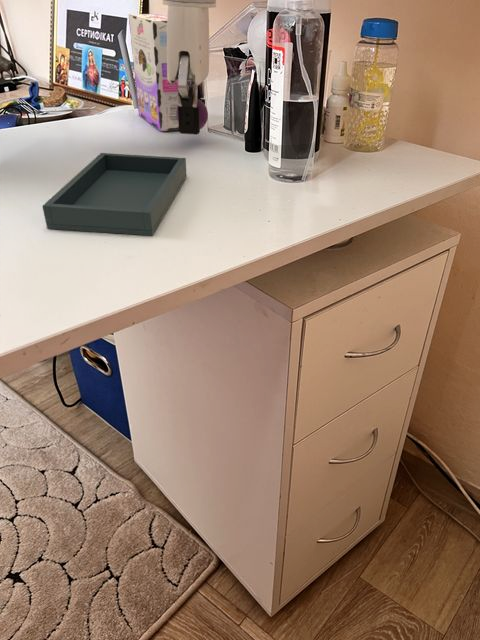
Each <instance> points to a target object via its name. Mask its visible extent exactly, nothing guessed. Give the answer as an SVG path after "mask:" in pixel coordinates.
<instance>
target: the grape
mask: <svg viewBox="0 0 480 640" xmlns="http://www.w3.org/2000/svg"><path fill="white" fill-rule="evenodd" d="M197 106H198V107H199V123H200V130H202V129H203V128H204V127H205V126H206V124H207V122H208V119H209V111H208V108H207V106H206V103H205V104H204V103H203V102H202V101H201V100H200V99H198V98H197ZM176 116H177V120H178V107H177V111H176Z"/></svg>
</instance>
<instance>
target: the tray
mask: <svg viewBox="0 0 480 640" xmlns="http://www.w3.org/2000/svg"><path fill="white" fill-rule="evenodd" d="M187 177H188V176H187V159H186V157H175V156H157V155H143V154H142V155H141V154H128V153H127V154H125V153H124V154H123V153H109V152H108V153H107V152H100V153H99V154H98V155H97V156H96V157H95V158H93V159H92V160H91V162H89V163H88V164H87V165H86V166H85V167H84V168H82V169H81V170H80V171H79V172H77V174H76V175H74V177H73V178H71V179H70V181H68V182H67V183H66V184H65V185H64V186H63V187H61V188H60V189H59V190H58V191H57V192H56V193H54V194H53V196H51V197H50V198H49V199H48V200H47V201H46V202H45V203H44V204H43V205H42V210H43V216H44V220H45V224H46V228H47V229H48V230H59V231H60V230H61V231H74V232H77V231H78V232H91V233H108V234H121V235H137V236H150V237H151V236H152V237H153V236H154V234H155V233H156V230H157V229H158V227H159V225H160V223H161V222H162V220H163V218H164V217H165V215H166V213H167V212H168V210H169V208H170V206H171V205H172V203H173V201H174V200H175V198H176V196H177V195H178V193H179V191H180V189H181V188H182V186H183V184H184V182H185V181H186V179H187Z"/></svg>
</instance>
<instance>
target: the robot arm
mask: <svg viewBox="0 0 480 640" xmlns="http://www.w3.org/2000/svg"><path fill="white" fill-rule="evenodd" d="M162 4H163V5H165V6H167V15H166V16H167V79H168V81H169V83H170V84H174V83H175V82H176V81H177V80H178V124H179V130H178V132H179V133H180V134H183V135H195V136H196V135H199V134H200V130H201V129H200V123H199V107H198V106H197V98H198V99H200V100H201V101H202V102H203V103H204V104H205V105H206V99H205V95H206V94H205V80H206V79H207V77H208V76H209V72H210V71H209V70H210V18H209V17H210V16H209V15H210V14H209V9H212V8H213V9H214V8H217V0H162Z"/></svg>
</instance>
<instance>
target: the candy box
mask: <svg viewBox="0 0 480 640" xmlns="http://www.w3.org/2000/svg"><path fill="white" fill-rule="evenodd" d="M128 24H129V31H130V33H129V34H130V42H131V43H130V44H131V51H132V53H131V54H132V61H133V62H132V63H133V72H134V81H135V91H136V93H135V94H136V103H137V104H136V105H137V113H138V116H139V117H141V118H142V119H143V120H145V121H146V122H147V123H149V124H151V125H152V127H155V128H156V130H159V131H160V132H167V131H168V132H170V131H171V132H172V131H179V124H178V120H177V116H176V111H177V107H178V80H177V81H176V82H175V83H174V84H170V83H169V81H168V79H167V15H162V14H158V13H128Z"/></svg>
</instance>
